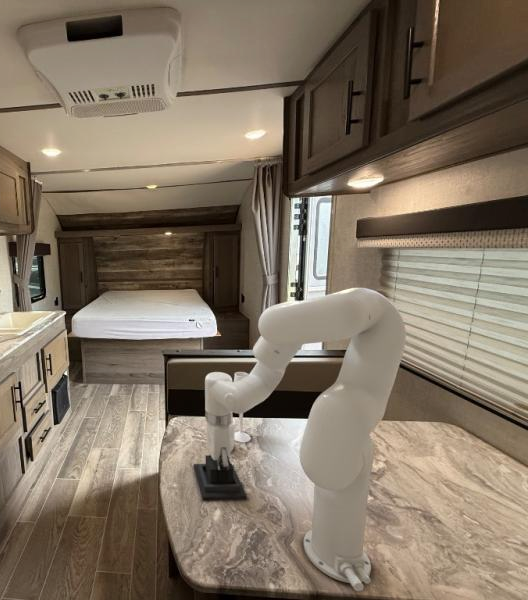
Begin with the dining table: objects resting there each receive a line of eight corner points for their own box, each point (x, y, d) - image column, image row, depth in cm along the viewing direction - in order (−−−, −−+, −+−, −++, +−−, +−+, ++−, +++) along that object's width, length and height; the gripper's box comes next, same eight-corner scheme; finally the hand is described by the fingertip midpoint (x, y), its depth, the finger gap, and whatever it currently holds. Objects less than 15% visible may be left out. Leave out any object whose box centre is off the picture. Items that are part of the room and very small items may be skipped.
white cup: (210, 452, 111) (210, 424, 110) (212, 439, 119) (212, 413, 117) (234, 455, 109) (235, 428, 107) (235, 442, 116) (235, 416, 115)
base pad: (246, 499, 90) (246, 491, 90) (202, 500, 90) (202, 492, 90) (231, 466, 104) (231, 458, 103) (193, 466, 104) (193, 459, 104)
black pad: (233, 481, 93) (233, 468, 93) (210, 482, 93) (210, 469, 93) (226, 466, 100) (226, 454, 99) (205, 467, 100) (205, 455, 99)
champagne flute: (245, 431, 123) (246, 370, 119) (253, 441, 116) (255, 377, 113) (228, 432, 122) (228, 371, 119) (235, 442, 116) (236, 378, 112)
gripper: (199, 402, 102) (200, 454, 105) (212, 432, 85) (213, 494, 88) (223, 401, 102) (223, 454, 105) (241, 432, 85) (241, 493, 88)
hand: (218, 472), depth 96 cm, fingers closed on black pad, 6 cm apart
